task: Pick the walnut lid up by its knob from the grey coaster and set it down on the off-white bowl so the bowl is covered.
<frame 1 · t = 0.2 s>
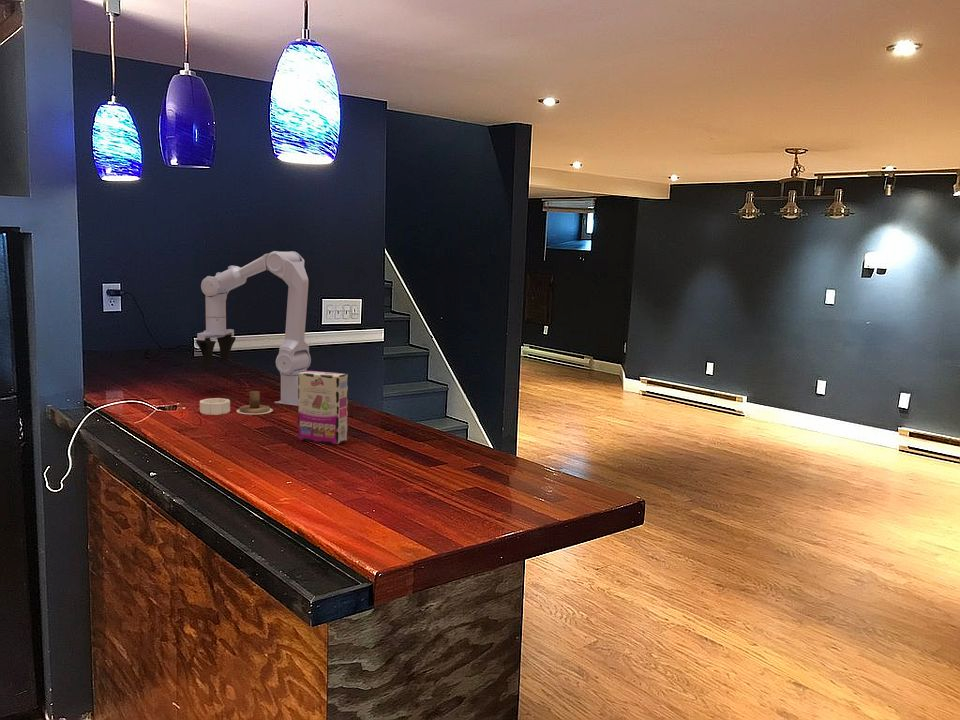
hand: (216, 361, 234), 10 cm above the worktop, tool pointing down, fingers open, 7 cm apart
candy bar box: (322, 440, 187), on the worktop
bowl: (215, 413, 210), on the worktop
coaster: (254, 412, 213), on the worktop
lid: (254, 410, 213), point 1 cm above the worktop, touching coaster
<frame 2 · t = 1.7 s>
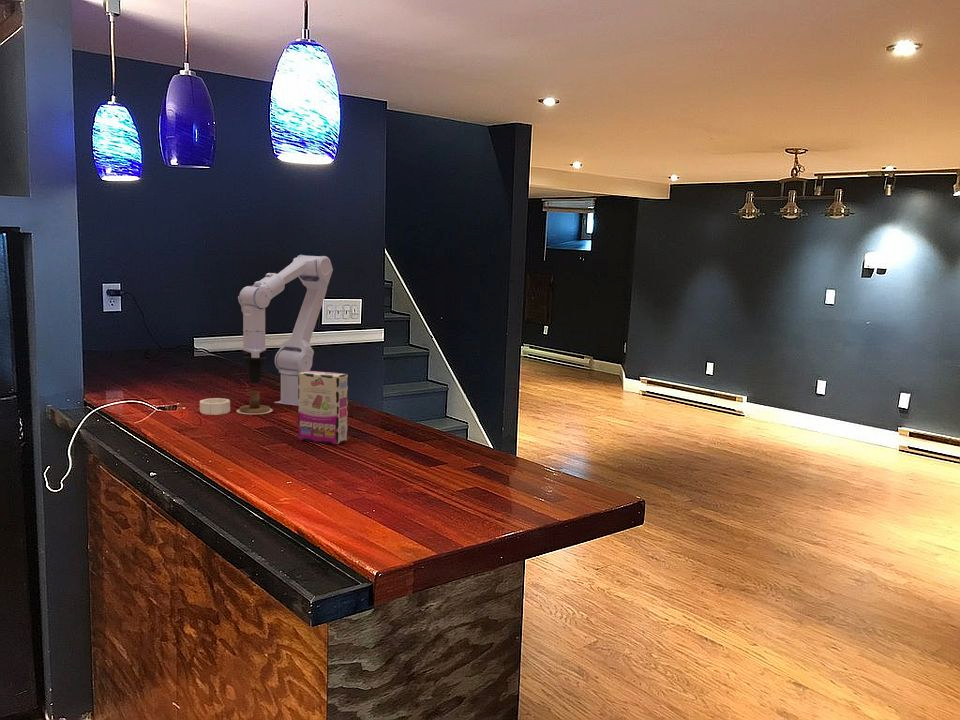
hand: (254, 380, 212), 9 cm above the worktop, tool pointing down, fingers open, 7 cm apart
nothing on the worktop moved.
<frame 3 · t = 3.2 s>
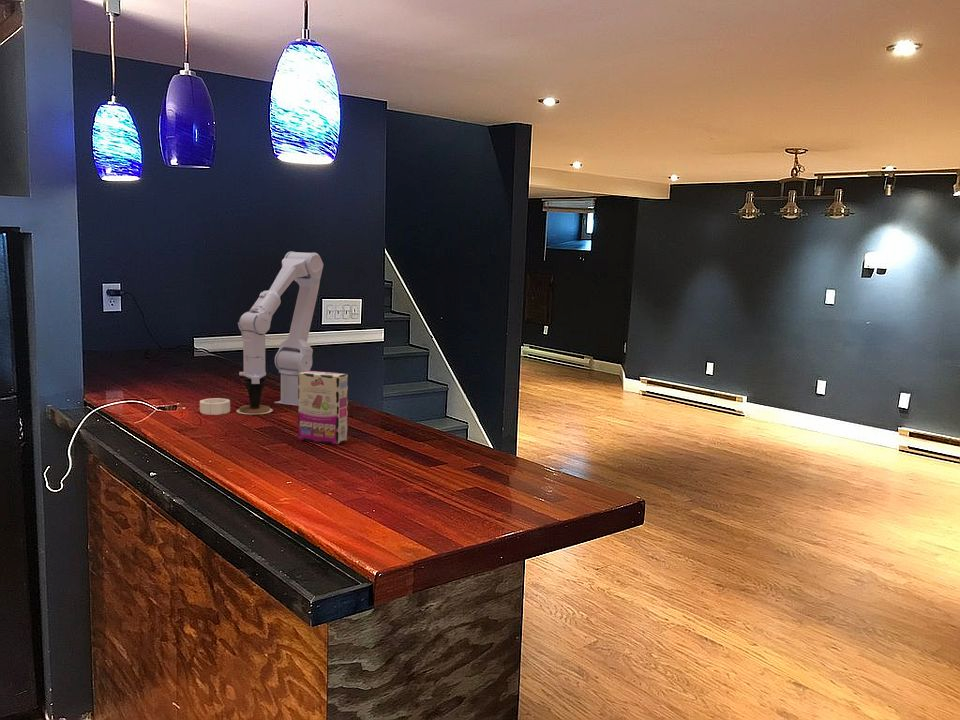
hand: (254, 405, 213), 2 cm above the worktop, tool pointing down, fingers closed on lid, 3 cm apart
lid: (254, 410, 213), point 1 cm above the worktop, touching coaster, gripper
everything else where it was.
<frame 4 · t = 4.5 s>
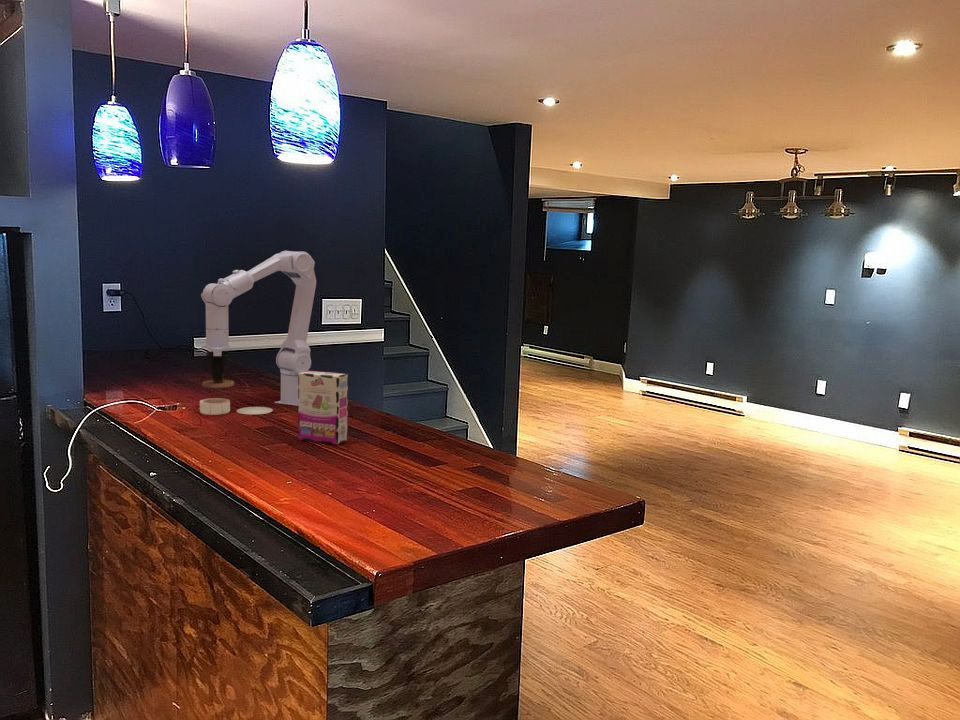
hand: (217, 379, 209), 9 cm above the worktop, tool pointing down, fingers closed on lid, 3 cm apart
lid: (218, 385, 209), point 8 cm above the worktop, touching gripper
everything else where it was.
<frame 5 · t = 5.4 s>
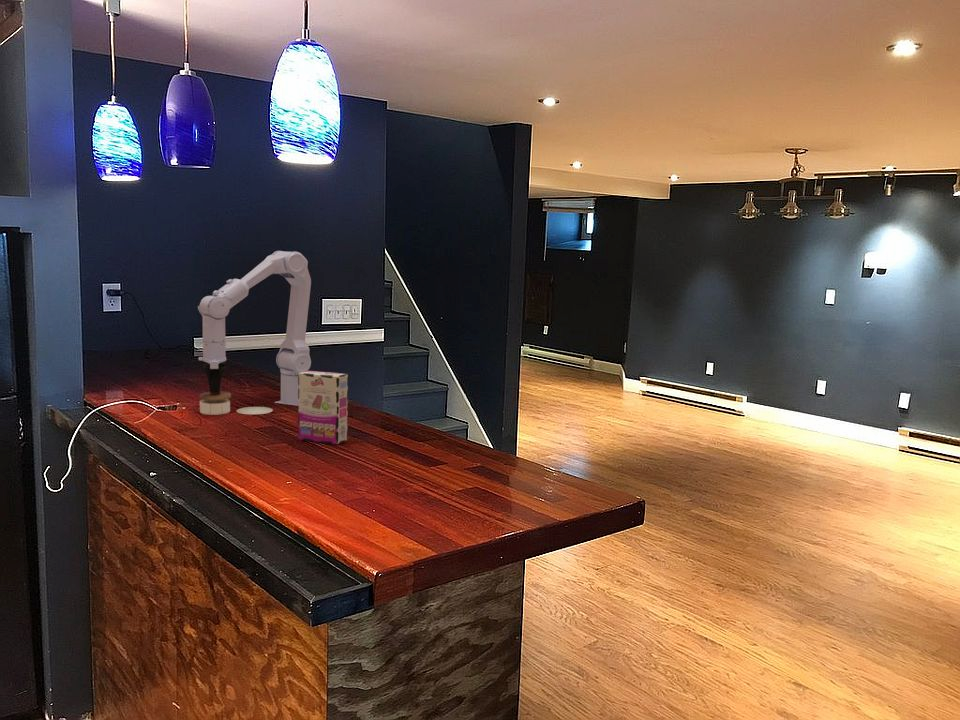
hand: (214, 391, 209), 6 cm above the worktop, tool pointing down, fingers closed on lid, 3 cm apart
lid: (215, 397, 209), point 5 cm above the worktop, touching gripper
everything else where it was.
when the fingers open (6 cm above the worktop, at t = 5.8 s): lid drops 1 cm, resting on bowl.
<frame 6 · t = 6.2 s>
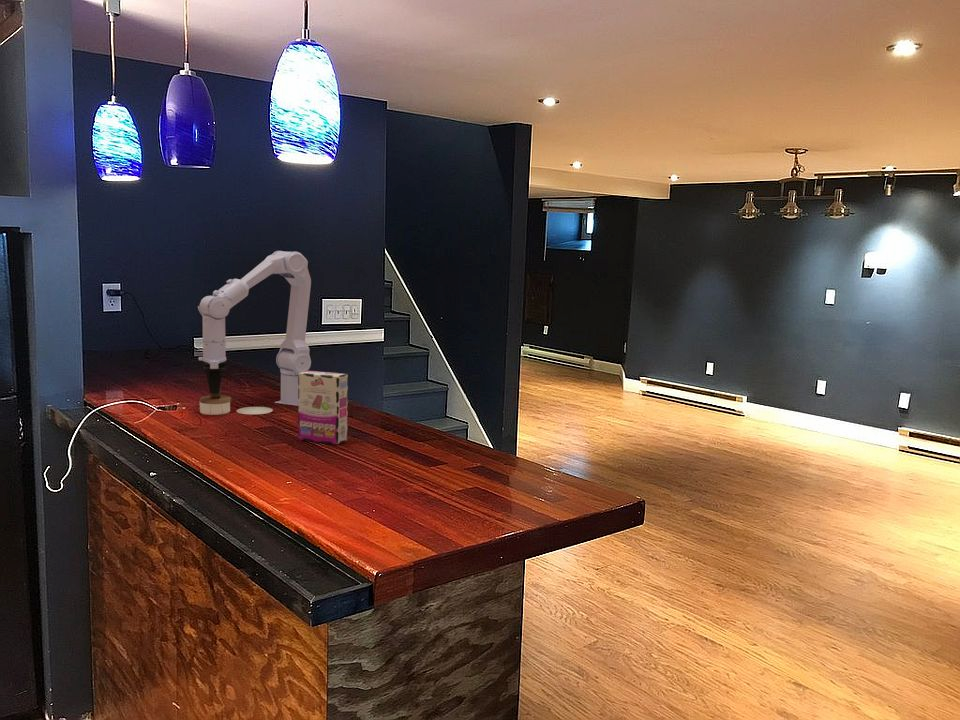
hand: (214, 391, 209), 6 cm above the worktop, tool pointing down, fingers open, 6 cm apart
lid: (215, 401, 210), point 3 cm above the worktop, touching bowl
everything else where it was.
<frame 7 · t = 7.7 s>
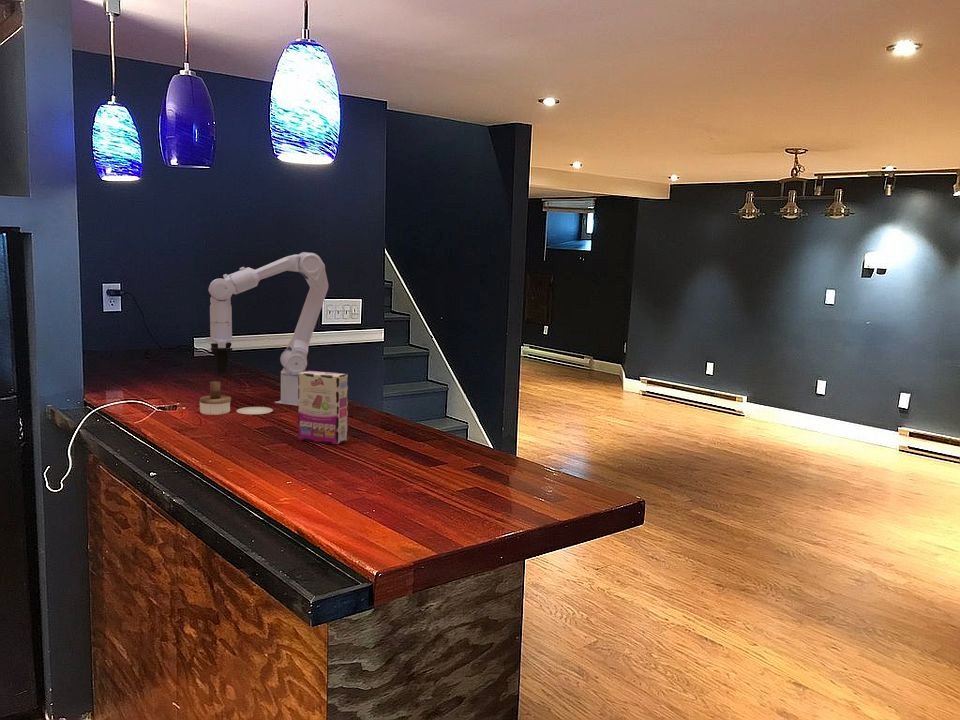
hand: (221, 370, 218), 10 cm above the worktop, tool pointing down, fingers open, 7 cm apart
nothing on the worktop moved.
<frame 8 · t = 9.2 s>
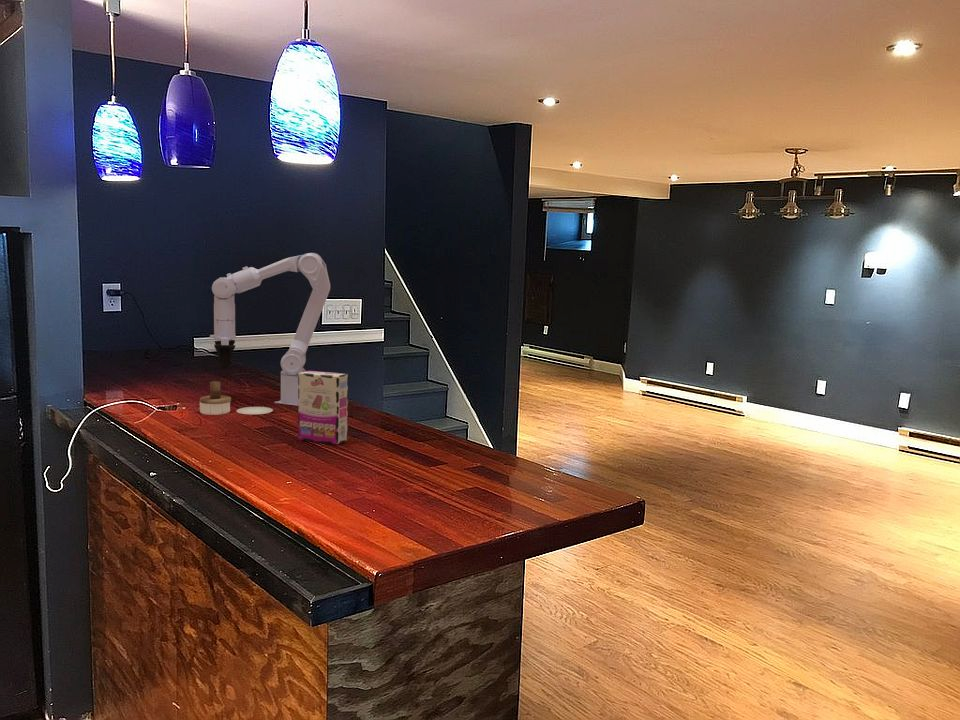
hand: (225, 367, 223), 10 cm above the worktop, tool pointing down, fingers open, 7 cm apart
nothing on the worktop moved.
at the end: lid 0.1 cm off-centre on the bowl, point 3.5 cm above the bowl's base; lid tilted 0°; the gripper is holding nothing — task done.
